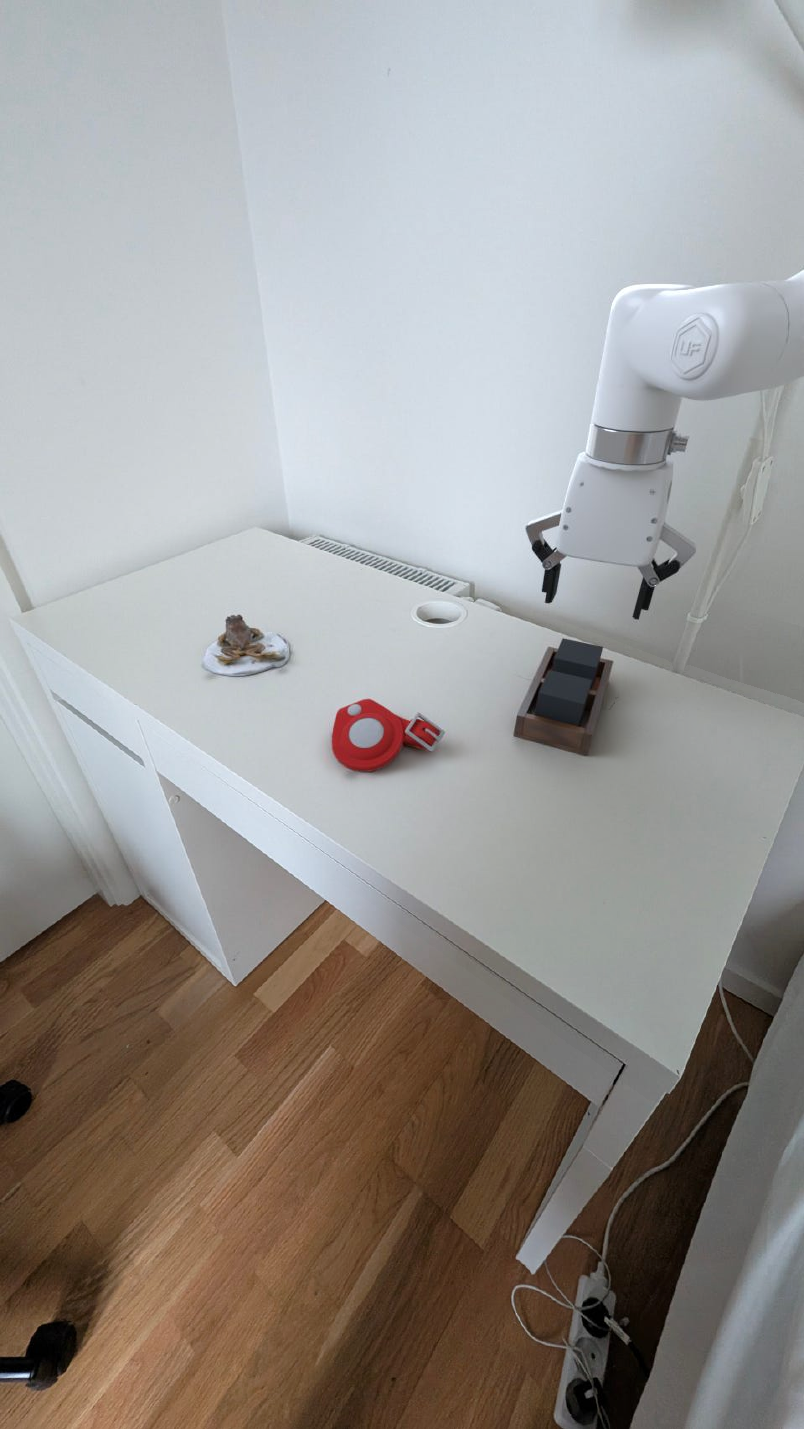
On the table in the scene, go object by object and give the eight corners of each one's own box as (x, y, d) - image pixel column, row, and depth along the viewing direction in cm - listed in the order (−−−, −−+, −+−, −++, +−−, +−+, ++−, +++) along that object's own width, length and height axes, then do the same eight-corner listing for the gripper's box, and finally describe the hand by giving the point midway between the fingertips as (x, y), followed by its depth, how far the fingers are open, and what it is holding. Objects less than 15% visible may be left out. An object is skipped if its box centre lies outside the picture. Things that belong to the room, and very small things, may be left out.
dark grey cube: (583, 713, 69) (592, 679, 66) (575, 739, 66) (584, 704, 62) (541, 703, 71) (548, 669, 68) (532, 727, 67) (538, 692, 64)
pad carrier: (608, 680, 76) (613, 660, 74) (587, 756, 64) (592, 735, 62) (544, 665, 78) (548, 646, 76) (513, 736, 67) (516, 715, 65)
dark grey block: (594, 679, 74) (603, 646, 71) (587, 701, 71) (596, 667, 68) (555, 670, 76) (562, 638, 73) (547, 691, 72) (554, 657, 69)
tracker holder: (343, 778, 60) (314, 706, 65) (351, 796, 63) (323, 727, 69) (450, 732, 61) (412, 666, 67) (452, 753, 65) (416, 688, 70)
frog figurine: (192, 643, 82) (186, 620, 80) (274, 624, 86) (270, 601, 84) (210, 686, 74) (204, 661, 72) (299, 662, 78) (296, 638, 76)
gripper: (726, 444, 55) (675, 606, 66) (546, 429, 61) (526, 580, 71) (726, 463, 50) (671, 636, 60) (529, 445, 55) (509, 606, 66)
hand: (592, 606), depth 66 cm, fingers open, 9 cm apart
